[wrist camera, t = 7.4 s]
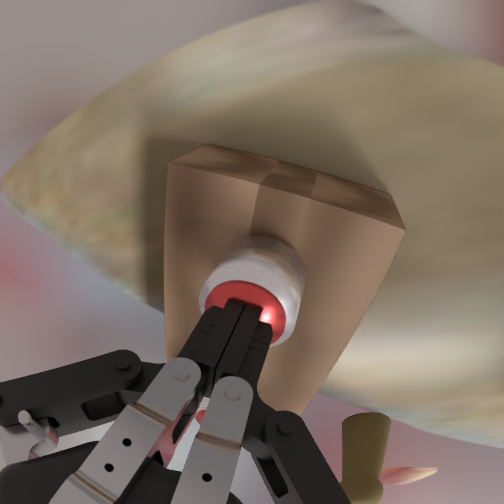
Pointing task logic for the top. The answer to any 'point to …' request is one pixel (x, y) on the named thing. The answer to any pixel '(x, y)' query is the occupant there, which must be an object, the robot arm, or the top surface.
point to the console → (291, 233)
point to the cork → (364, 456)
